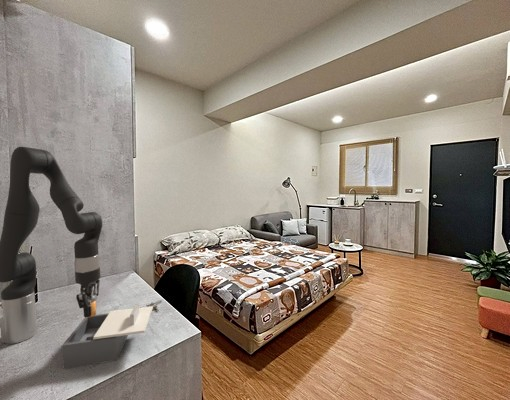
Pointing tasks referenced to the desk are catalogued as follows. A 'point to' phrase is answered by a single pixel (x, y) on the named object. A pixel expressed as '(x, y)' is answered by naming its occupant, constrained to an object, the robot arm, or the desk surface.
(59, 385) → the desk surface
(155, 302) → the clamp
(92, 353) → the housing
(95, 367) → the desk surface
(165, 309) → the desk surface
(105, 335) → the lid
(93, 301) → the peg
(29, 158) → the robot arm
